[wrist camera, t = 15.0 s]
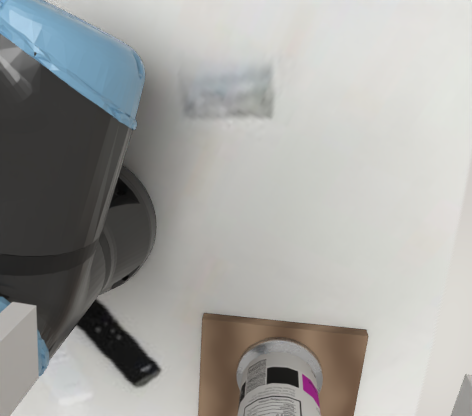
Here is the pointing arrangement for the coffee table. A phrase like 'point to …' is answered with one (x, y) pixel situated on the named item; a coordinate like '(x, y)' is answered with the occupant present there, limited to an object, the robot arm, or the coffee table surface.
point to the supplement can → (278, 387)
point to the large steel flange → (280, 346)
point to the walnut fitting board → (313, 336)
